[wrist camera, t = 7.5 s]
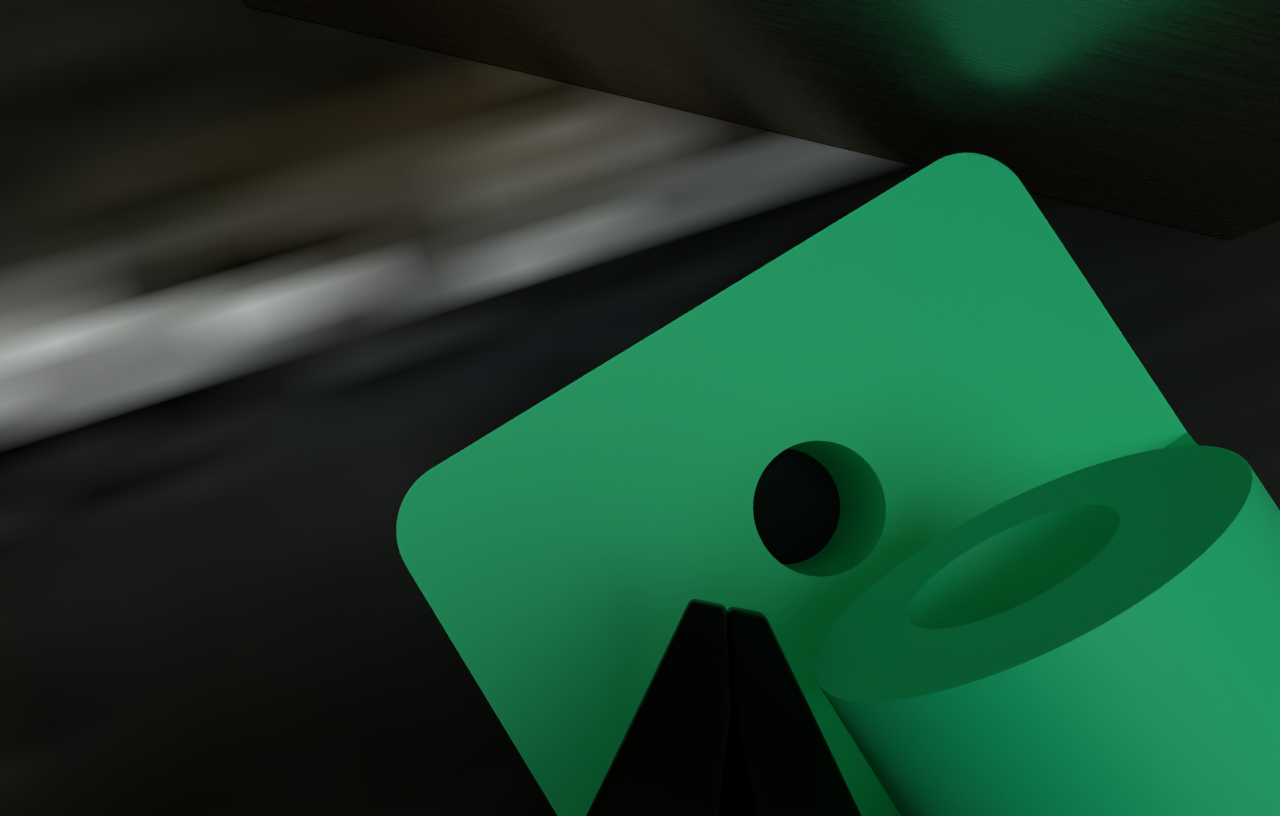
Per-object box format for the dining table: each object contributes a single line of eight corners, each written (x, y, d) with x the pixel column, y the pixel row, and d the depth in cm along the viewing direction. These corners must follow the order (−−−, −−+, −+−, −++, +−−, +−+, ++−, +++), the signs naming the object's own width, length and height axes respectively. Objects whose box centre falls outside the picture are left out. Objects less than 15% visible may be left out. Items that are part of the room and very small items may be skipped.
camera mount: (925, 184, 17) (1426, -264, 7) (1137, 507, 17) (1988, 528, 7) (404, 504, 16) (92, 522, 6) (622, 862, 16) (705, 1567, 5)
